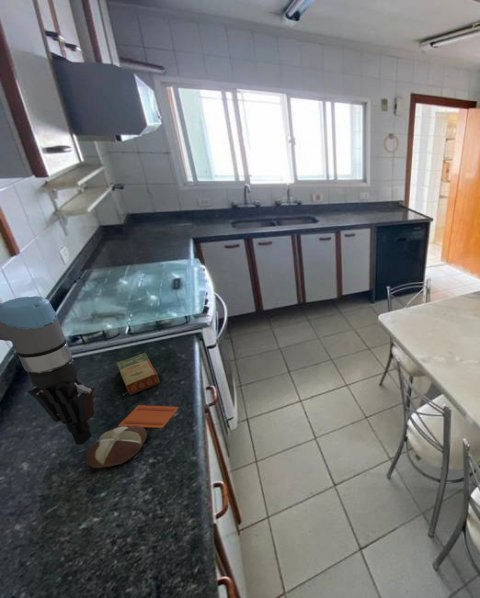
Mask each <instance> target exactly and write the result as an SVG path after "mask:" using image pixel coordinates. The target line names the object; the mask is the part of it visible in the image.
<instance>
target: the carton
mask: <svg viewBox="0 0 480 598" xmlns="http://www.w3.org/2000/svg"><path fill="white" fill-rule="evenodd" d="M116 366H117V368H118V372H119V373H120V377H121V378H122V381H123V383H124V385H125V388H126V390H127V392H128V394H129V396H131V395H134V394H137V393H139V392H142V391H145V390H147V389H149V388H152V387H154V386H157V385H159V384H160V383H161V381H160V379H159V375H158V372H157V371H156V369H155V367H154V365H152V363H151V360H150V359H149V357H148V355H147V353H146V352H143V353H140V354H137V355H135V356H132V357H129V358H125V359H123V360H120V361H117V362H116Z"/></svg>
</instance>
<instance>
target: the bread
mask: <svg viewBox="0 0 480 598" xmlns="http://www.w3.org/2000/svg"><path fill="white" fill-rule="evenodd" d="M147 436H148V433H147V431H146V428H143V427H140V426H131V427H125V426H123V427H118V426H116V427H114V428H111V429H109V430H107V431H105V432H103V433H101V435H100V436H99V438H98V439H97V441H95V442H93V443H92V444H91V445H90V446H89V448H88V450H87V452H86V454H85V461H86V464H87V465H88V466H89V467H91V468H93V469H100V468H108V467H114V466H118V465H123V464H124V463H126V462H127V461H129V460H131V459H132V458H133V457H134V456H136V455H137V454H138V453H139V451H140V450H141V449H142V446H143V444H144V443H145V441H146V439H147Z"/></svg>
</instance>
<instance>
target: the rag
mask: <svg viewBox="0 0 480 598" xmlns="http://www.w3.org/2000/svg"><path fill="white" fill-rule="evenodd" d="M178 410H179V406H167V405H165V406H163V405H144V404H143V405H142V404H141V405H139V404H138V405H137V406H136V407H135V408H133V410H132V411H131V412H130V413H129V414H128V415H127V416H126V417H125V418H124V419H123V420H122V421H121V422H120V423H119V424H118V425H117V427H123V426H125V427H128V428H129V427H131V426H140V427H143V428H144V429H164V427H165V426H166V425H167V424H168V423H169V421H170V420H171V419H172V417H173V416H174V415H175V414H176V412H177V411H178Z"/></svg>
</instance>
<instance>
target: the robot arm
mask: <svg viewBox="0 0 480 598" xmlns="http://www.w3.org/2000/svg"><path fill="white" fill-rule="evenodd" d="M0 341H4V342H11V344H12V346H13V348H14V350H15V352H16V354H17V356H18V358H19V360H20V363H21V365H22V367H23V370H25V371H26V375H27V376H28V379H29V380H30V383H31V385H32V386H34V387H32V388H31V389H29V390H28V391H27V393H28V394H29V395H30V396H31V397H33V398H34V399H36V401H37V402H38V404H39V405H40V406H41V407H42V408H43V409H44V411H45V412H46V413H47V414H48V415H49V417H50V418H51V419H52V420H53V421H54V422H55V423H58V422H61V423H62V424H63V425H65V426H66V428H67V431H68V432H69V433H71V435H72V438H73V441H74V442H75V444H76V445H84V444H85V443H87V442H88V440H89V439H91V438H92V433H91V430H90V424H89V420H90V419H91V418H92V417H94V415H95V411H94V397H93V394H94V391H95V386H92V385H90V386H89V385H88V387H87V386H85V385H83V384H82V381H81V380H80V379H79V378H78V373H79V368H78V366H77V364H76V361H75V359H74V358H73V354H72V352H71V349H70V346H69V344H68V342H67V340H66V336H65V334H64V331H63V329H62V326H61V323H60V321H59V319H58V314H57V311H55V309H54V308H53V306H52V304H51V302H50V300H49V299H48V298H46V297H43V296H38V295H34V296H21V297H15V298H12V299H9V300H6V301H4V302H0Z"/></svg>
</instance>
